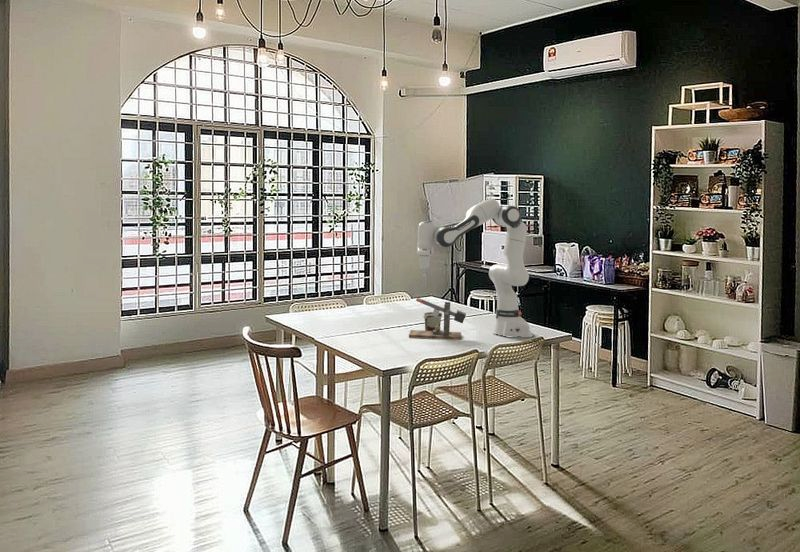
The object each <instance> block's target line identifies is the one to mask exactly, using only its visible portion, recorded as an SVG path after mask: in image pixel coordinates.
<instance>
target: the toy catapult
mask: <svg viewBox="0 0 800 552" xmlns="http://www.w3.org/2000/svg"><path fill="white" fill-rule="evenodd" d="M443 308H444V312H443V330H442V329H441V325H440V326H438V325H437V326H436V327H435V330H433V331H425V330H420V329H411V330H410V332H409V334H408V338H410V339H411V338H415V339H417V338H418V339H436V340H457V341H459V340H460V341H461V340H462V332H461V331H450V323H451V321H450V320H451V315H450V311H451V301H450V302H449V301H444V305H443Z"/></svg>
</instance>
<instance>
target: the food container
mask: <svg viewBox="0 0 800 552" xmlns="http://www.w3.org/2000/svg"><path fill="white" fill-rule="evenodd" d="M432 313H433V311H429V312H424V314H423V319H424V331H433V330H435V327H436V326H437V325H438V326H440V327H441V322H442V317H443V314H442V313H443V312H439V314H438V316H437V317H434V316H432Z"/></svg>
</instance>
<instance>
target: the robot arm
mask: <svg viewBox="0 0 800 552" xmlns="http://www.w3.org/2000/svg"><path fill="white" fill-rule="evenodd" d="M490 220H492V221H493V222H494V223H495V225H497V226H499V227H506V237H505V241H504V245H503V251H502V252H503V255H504V256H505V257H506V261H507V264H504V263H496V264H493V265H491V266H490V267H489V270H488V277H489V279H490V281H492V283H493V284H494V288H495V291H496V309H495V324H494V329H493V332H492V334H494V335H496V334H498V335H497V336H500V335H503V336H521V337H520V338H533V337H534V336H533V335H534V332H533V331H531V330H530V324H529V323H528V322H527V321H526V320H525V319H524V318H522V316H521V315H522V312H521V310H519V309H518V294H517V293H516V292H515V290H514V289H513V287H523V286H525V285H527V283H528V282H529V279H530V274H529V271H528V269H526V267H525V263H524V252H525V246H526V240H527V233H528V231H527V230H528V227H527V224H526V223H524V222H523V218H522V214H521V210H520V208H518V207H517V206H515V205H503V206H501V205H500V203H499V202H498V201H497V200H496V199H494V198H489V199H486V200H483V201H481V202H478V203H477V204H475V205H473V206H472V207H470V208H469V209H468V210H467V211H466V212H465V218H464V220H462V221H460V222H459V223H457V224H456V225H454V226H452V227H444V226H441V225H439V224H437V223H435V222H434V220H423V221H420V222H419V224H418V226H417V227H418V228H417V244H416V254H417V255H418V257H419V259H418V260H419V269H420V270H421V273H422V274H421V275H422V277H423V278H425V277H426V276H427V271H428V268H429V267H430V258H431V257H432V255H434V244H437V245H440V246H442V247H444V248H449V247H451V246H453V245H454V244H456V242H457V241H458V240H459V238H460V237H463V235H465V234H467V233H468V232H470V231H471V230H473V229H475V228H477V227H479V226H482V225H483V224H485V223H487V222H488V221H490ZM503 336H502V337H503ZM532 336H533V337H532Z"/></svg>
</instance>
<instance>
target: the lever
mask: <svg viewBox="0 0 800 552" xmlns="http://www.w3.org/2000/svg"><path fill="white" fill-rule="evenodd" d="M415 302H418V303H420V304H422V305H425V306H427V307H430V308H433V311H432V312H433V313H432V316H434V317H437V316H438V314H439V313H440V312H441V313H444V307H442V306H439V305H437V304H435V303H432V302H429V301H427V300H425V299H422V298H419V297H416V300H415ZM450 316H451V317H453V321H455V322H458V323H460V324H464V320H465V319H466V316H467V314H466V312H464V311H462V310H459V309H457V310H456V312H455V311H452V310H450Z"/></svg>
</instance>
